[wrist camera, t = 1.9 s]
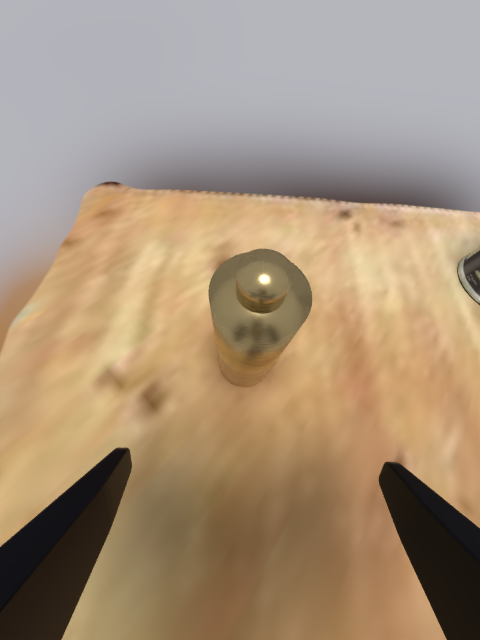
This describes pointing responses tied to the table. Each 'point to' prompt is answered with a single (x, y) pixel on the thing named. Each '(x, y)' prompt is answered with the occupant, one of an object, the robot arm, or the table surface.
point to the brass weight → (256, 312)
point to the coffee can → (471, 274)
